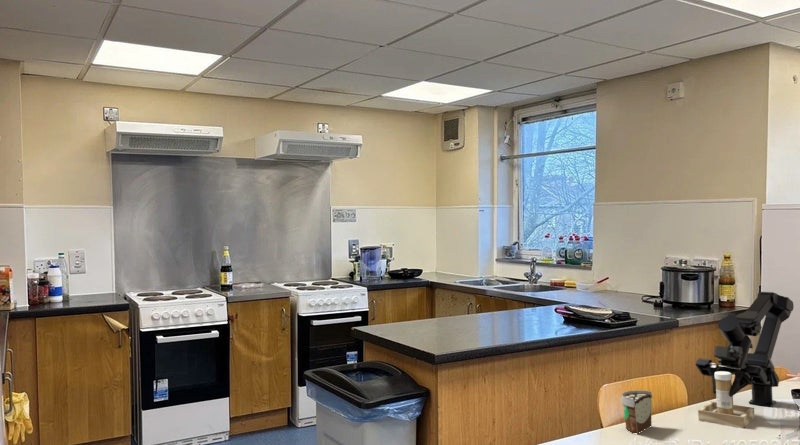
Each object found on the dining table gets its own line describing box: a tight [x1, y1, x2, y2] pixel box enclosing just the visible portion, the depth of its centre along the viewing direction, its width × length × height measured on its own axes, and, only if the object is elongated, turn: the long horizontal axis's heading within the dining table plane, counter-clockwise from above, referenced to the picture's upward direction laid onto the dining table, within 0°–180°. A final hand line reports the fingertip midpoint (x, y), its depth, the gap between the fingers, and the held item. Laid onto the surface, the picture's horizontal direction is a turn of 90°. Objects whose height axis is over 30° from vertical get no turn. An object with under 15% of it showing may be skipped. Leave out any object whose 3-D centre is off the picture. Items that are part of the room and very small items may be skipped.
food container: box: [620, 390, 653, 435], centre depth 176 cm, size 12×6×10 cm, turn 135°
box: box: [697, 401, 755, 429], centre depth 181 cm, size 12×12×3 cm
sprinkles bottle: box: [714, 371, 734, 415], centre depth 181 cm, size 5×5×13 cm
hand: (722, 394), depth 180 cm, fingers closed on sprinkles bottle, 4 cm apart
